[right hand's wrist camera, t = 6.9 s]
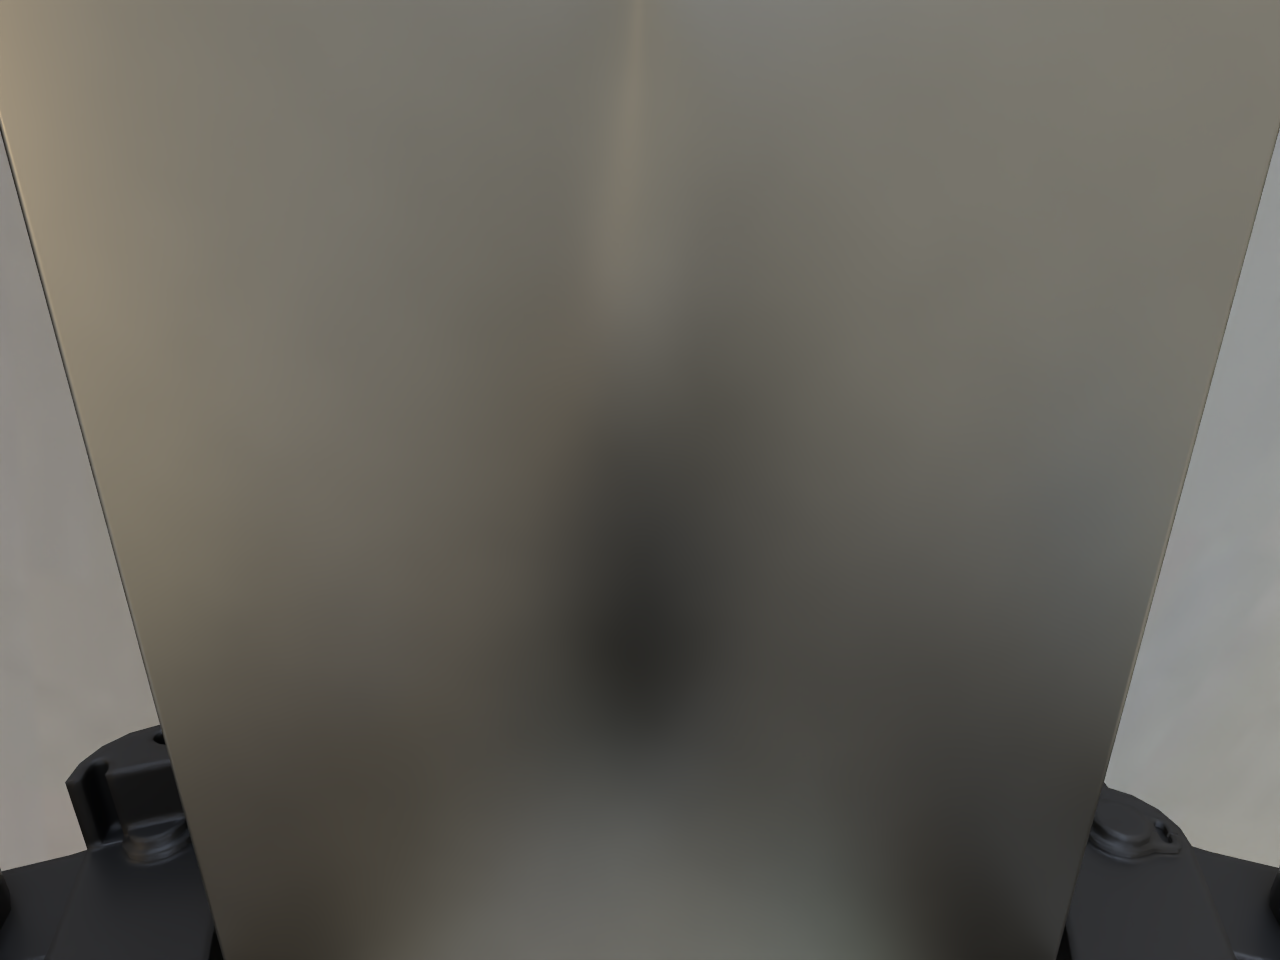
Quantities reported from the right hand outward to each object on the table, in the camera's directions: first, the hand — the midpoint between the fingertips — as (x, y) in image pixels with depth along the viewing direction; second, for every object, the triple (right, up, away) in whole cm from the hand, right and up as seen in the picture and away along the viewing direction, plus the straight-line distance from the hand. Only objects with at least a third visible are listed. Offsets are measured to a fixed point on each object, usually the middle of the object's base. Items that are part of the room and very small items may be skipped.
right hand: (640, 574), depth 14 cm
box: (0, +7, -2) cm, 8 cm away
